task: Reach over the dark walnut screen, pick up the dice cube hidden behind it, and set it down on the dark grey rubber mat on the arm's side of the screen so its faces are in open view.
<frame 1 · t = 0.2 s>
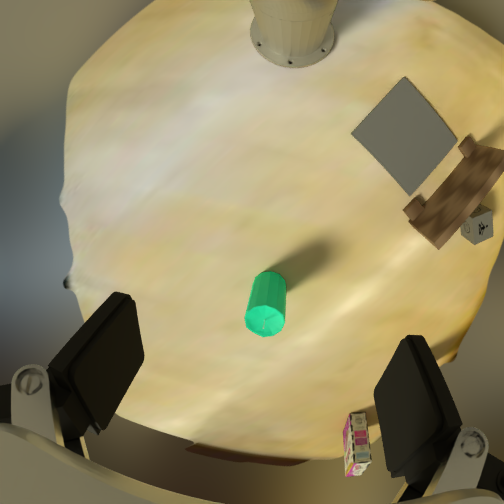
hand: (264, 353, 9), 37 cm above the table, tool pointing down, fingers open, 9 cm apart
grey mat: (408, 135, 36), on the table
candle: (269, 285, 50), on the table
dice cube: (468, 218, 40), on the table
walnut screen: (446, 184, 38), on the table
candy bar box: (353, 421, 65), on the table
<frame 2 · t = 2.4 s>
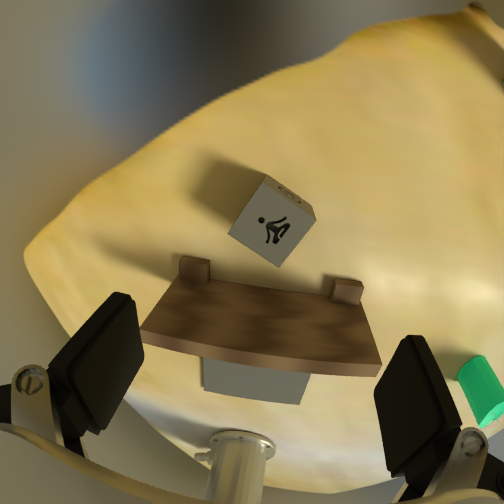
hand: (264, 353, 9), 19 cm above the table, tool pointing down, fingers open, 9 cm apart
grey mat: (257, 365, 34), on the table
candle: (471, 368, 32), on the table
dice cube: (274, 210, 27), on the table
walnut screen: (268, 294, 30), on the table
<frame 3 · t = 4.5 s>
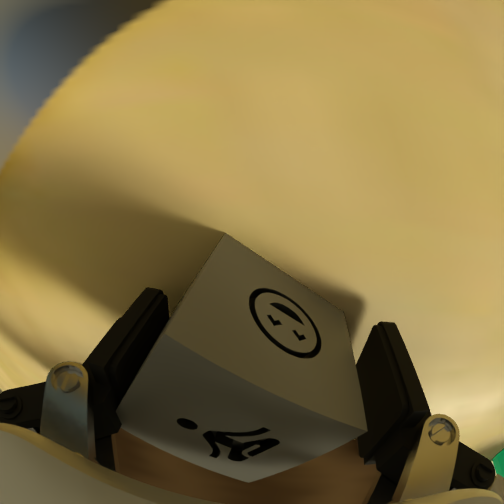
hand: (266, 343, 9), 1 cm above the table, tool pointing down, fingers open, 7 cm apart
dice cube: (248, 318, 10), on the table, touching gripper
walnut screen: (247, 438, 14), on the table
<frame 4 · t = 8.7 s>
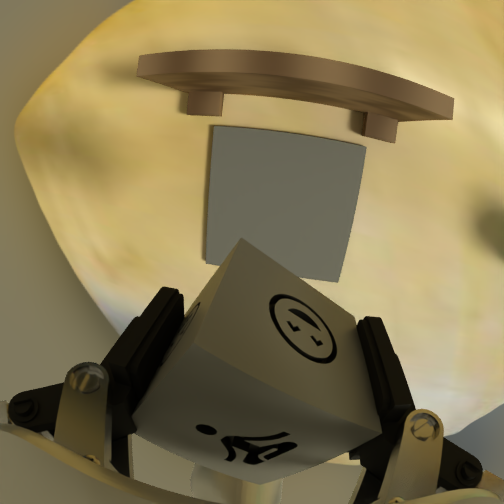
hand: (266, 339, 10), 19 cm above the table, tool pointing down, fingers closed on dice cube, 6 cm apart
grey mat: (281, 206, 27), on the table
dice cube: (259, 322, 10), point 18 cm above the table, touching gripper
walnut screen: (295, 92, 22), on the table
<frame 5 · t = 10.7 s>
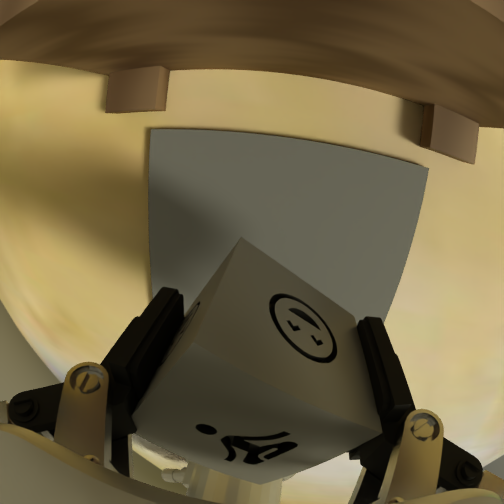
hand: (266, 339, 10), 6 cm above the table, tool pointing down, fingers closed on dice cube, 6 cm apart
grey mat: (274, 271, 15), on the table
dice cube: (260, 322, 10), point 5 cm above the table, touching gripper
walnut screen: (301, 61, 11), on the table
when the fingers open (2 cm above the table, at t = 12.4 s): dice cube drops 1 cm, resting on grey mat.
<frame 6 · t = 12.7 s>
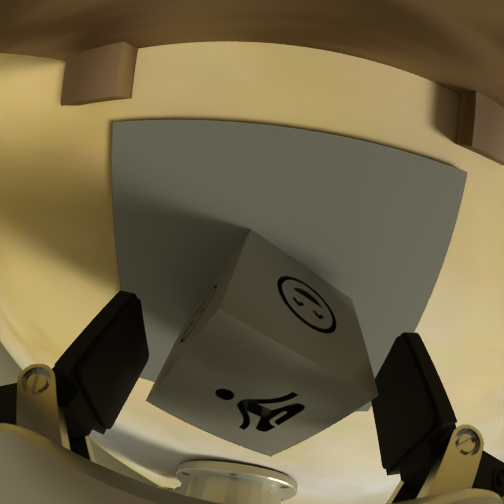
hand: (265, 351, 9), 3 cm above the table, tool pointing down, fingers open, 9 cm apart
grey mat: (271, 300, 12), on the table
dice cube: (267, 306, 12), resting on grey mat
walnut screen: (306, 29, 7), on the table
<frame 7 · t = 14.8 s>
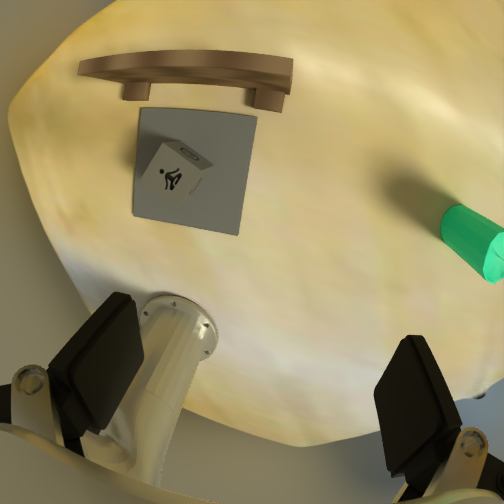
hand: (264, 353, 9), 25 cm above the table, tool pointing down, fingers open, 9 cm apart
grey mat: (188, 168, 31), on the table
candle: (456, 225, 30), on the table
dice cube: (186, 169, 31), resting on grey mat
walnut screen: (202, 78, 27), on the table
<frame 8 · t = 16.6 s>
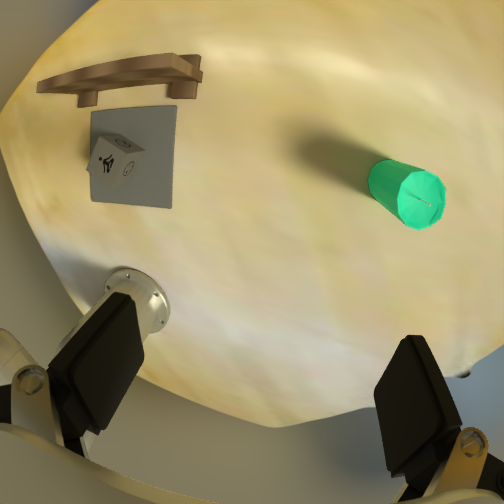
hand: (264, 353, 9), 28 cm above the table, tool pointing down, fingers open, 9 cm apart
grey mat: (129, 156, 35), on the table
candle: (388, 181, 33), on the table
dice cube: (126, 157, 35), resting on grey mat
walnut screen: (134, 81, 31), on the table
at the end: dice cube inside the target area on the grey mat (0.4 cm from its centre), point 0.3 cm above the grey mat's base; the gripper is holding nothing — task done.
